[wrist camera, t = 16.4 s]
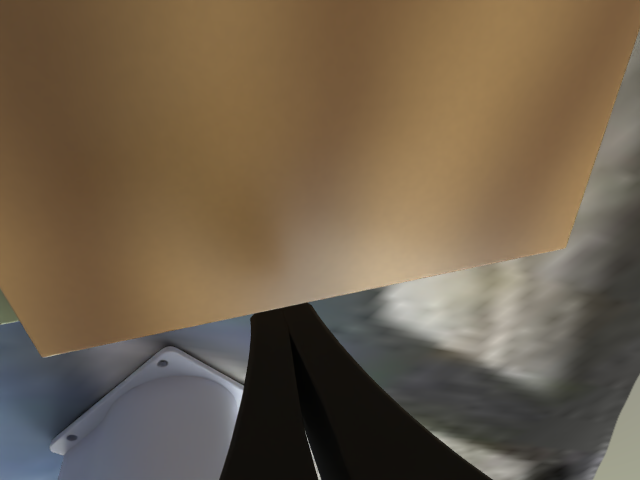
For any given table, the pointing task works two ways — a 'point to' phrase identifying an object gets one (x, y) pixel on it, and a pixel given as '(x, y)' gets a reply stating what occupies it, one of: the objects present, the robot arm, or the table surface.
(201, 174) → the cabinet
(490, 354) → the table surface
